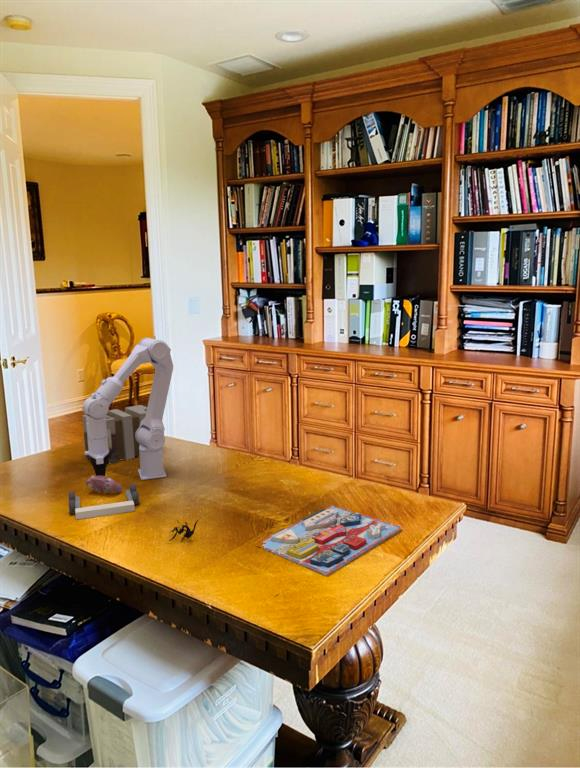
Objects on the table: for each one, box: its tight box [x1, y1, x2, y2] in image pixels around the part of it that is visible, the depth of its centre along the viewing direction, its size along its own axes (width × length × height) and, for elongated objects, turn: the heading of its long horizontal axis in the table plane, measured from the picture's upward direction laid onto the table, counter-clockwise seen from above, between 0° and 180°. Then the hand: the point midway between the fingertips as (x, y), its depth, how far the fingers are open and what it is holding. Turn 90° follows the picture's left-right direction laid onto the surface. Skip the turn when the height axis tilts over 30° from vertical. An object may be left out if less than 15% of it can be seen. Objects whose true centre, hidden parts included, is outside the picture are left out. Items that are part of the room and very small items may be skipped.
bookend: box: [81, 404, 148, 465], centre depth 217 cm, size 16×25×16 cm, turn 130°
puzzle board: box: [260, 505, 402, 577], centre depth 151 cm, size 30×23×3 cm
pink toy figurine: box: [85, 475, 123, 495], centre depth 182 cm, size 10×5×7 cm, turn 69°
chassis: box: [68, 483, 140, 521], centre depth 173 cm, size 14×19×4 cm
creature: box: [166, 519, 199, 543], centre depth 152 cm, size 8×5×8 cm
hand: (100, 479), depth 187 cm, fingers closed
